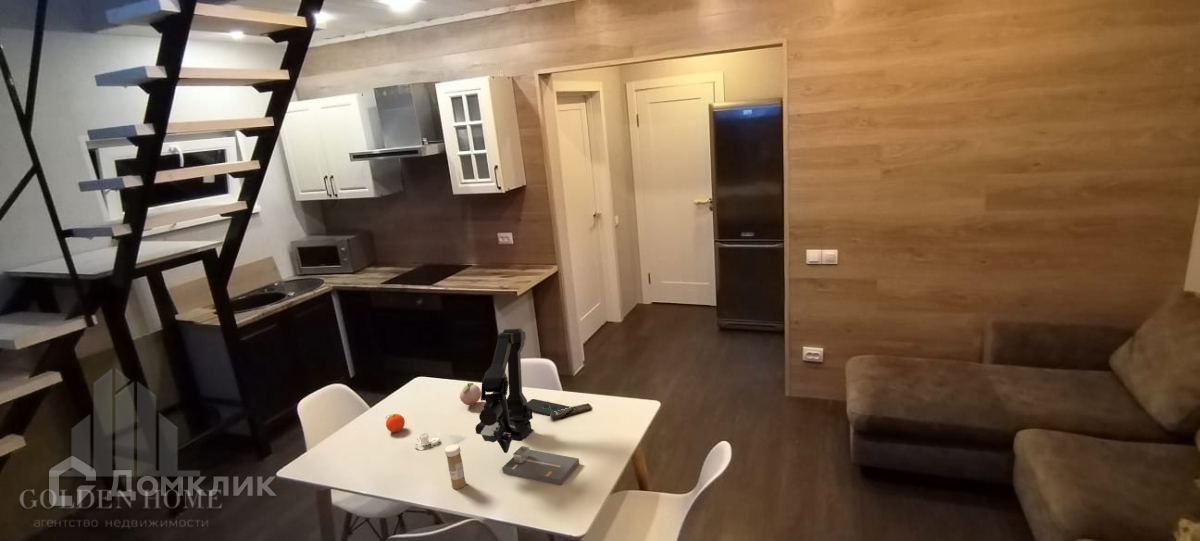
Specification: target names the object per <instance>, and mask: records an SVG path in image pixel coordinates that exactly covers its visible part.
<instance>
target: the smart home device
mask: <svg viewBox="0 0 1200 541" xmlns="http://www.w3.org/2000/svg"><path fill="white" fill-rule="evenodd" d="M527 405H528V406H529V407H530V408H531V409H532V414H536V415H542V416H546V417H549V416H550V413H551V412H554V411H558V410H561V409H565V408H569V407H571V406H569V405H564V404H561V403H560V404H559V403H555V402H550V401H545V400H540V399H535V398H531V399H529V401H527Z"/></svg>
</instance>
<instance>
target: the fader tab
mask: <svg viewBox="0 0 1200 541" xmlns="http://www.w3.org/2000/svg"><path fill="white" fill-rule="evenodd" d="M530 450H531V449H530V447H529V446H523V445H521V446H520V447H519V448H518V449H517V450H515V452H513V453H512V455H513V457H514V462H516V463H521V464H522V463H523V462H524V461H525V460H526V459H527V458H528V457H529V456H530Z"/></svg>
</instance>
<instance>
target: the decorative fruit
mask: <svg viewBox="0 0 1200 541" xmlns="http://www.w3.org/2000/svg"><path fill="white" fill-rule="evenodd" d="M459 399H460V401H461V403H463V404H464V405H466V406H473V405H475V404H476V403H478V401H479V400H481V388H480V387H479V386H478V385H476V384H474V383H473V382H468V383H467V384H465V385H464V386H463V387H462V389H461V391H460V393H459Z"/></svg>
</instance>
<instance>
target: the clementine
mask: <svg viewBox="0 0 1200 541" xmlns="http://www.w3.org/2000/svg"><path fill="white" fill-rule="evenodd" d="M385 420H386V422H385V426H386V428H387V430H388V431H389V432H391V433H398V432H400V431H401V430H403V429H404V426H405V423H406V422H405V418H404V417H403V415H402V414H399V413H391V414H388V415H387V416H385ZM397 431H398V432H397Z"/></svg>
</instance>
